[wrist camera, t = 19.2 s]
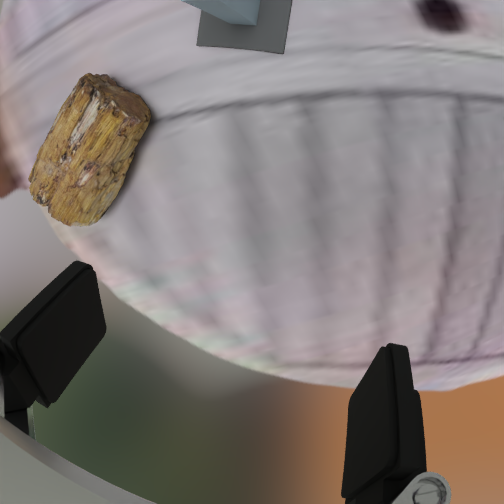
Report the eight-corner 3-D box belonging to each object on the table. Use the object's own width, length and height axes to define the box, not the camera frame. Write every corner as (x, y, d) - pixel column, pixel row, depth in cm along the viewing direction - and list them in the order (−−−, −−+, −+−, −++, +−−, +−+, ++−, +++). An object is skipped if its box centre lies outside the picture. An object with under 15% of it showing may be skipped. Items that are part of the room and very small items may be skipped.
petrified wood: (107, 60, 34) (67, 71, 26) (179, 115, 39) (156, 138, 31) (49, 163, 43) (14, 193, 35) (109, 209, 48) (82, 246, 40)
